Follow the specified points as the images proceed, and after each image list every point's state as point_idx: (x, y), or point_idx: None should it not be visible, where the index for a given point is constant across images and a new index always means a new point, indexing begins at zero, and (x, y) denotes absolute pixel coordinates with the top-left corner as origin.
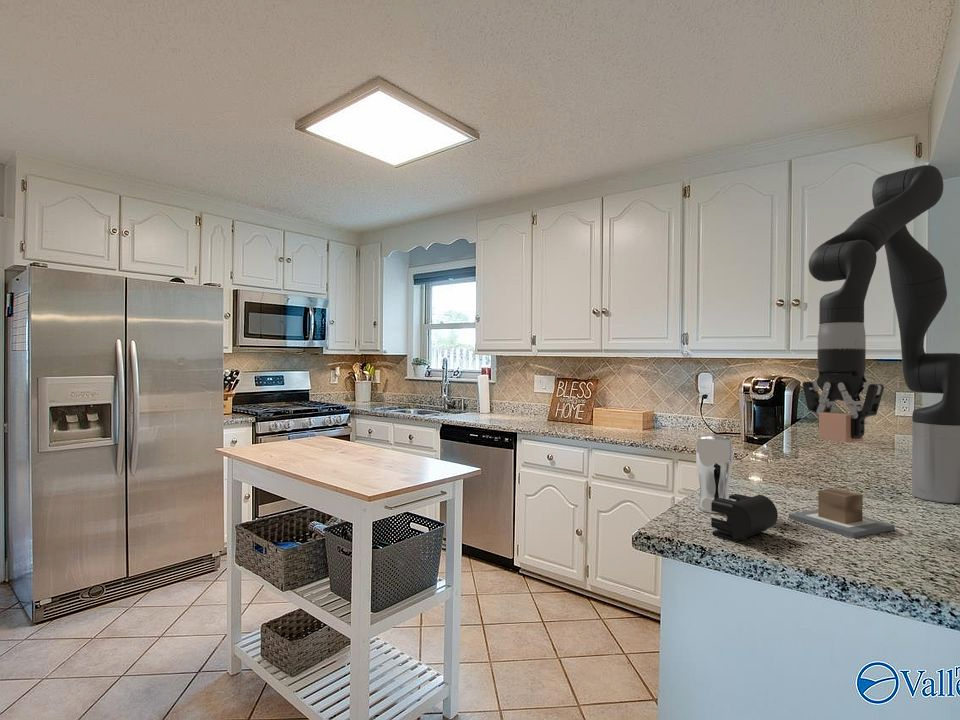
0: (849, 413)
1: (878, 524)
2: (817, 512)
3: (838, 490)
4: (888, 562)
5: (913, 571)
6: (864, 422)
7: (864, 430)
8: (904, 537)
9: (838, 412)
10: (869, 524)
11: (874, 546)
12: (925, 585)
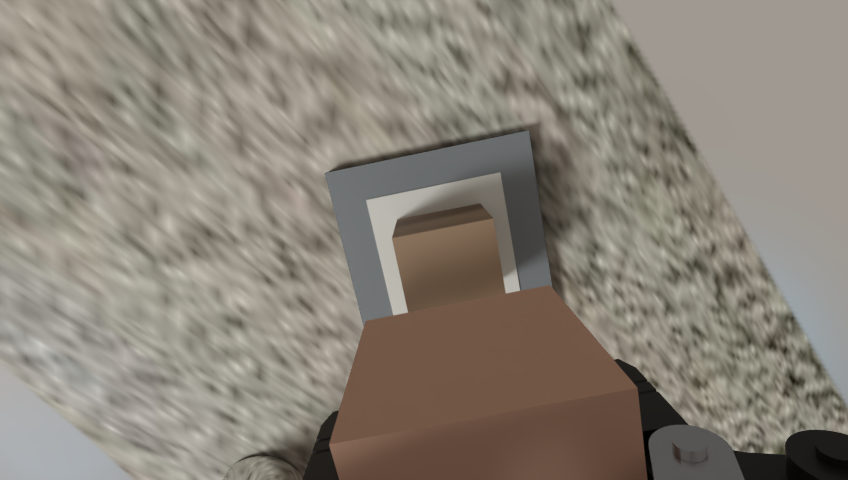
0: (511, 440)
1: (513, 178)
2: (370, 259)
3: (422, 255)
4: (702, 382)
5: (755, 377)
6: (681, 418)
7: (644, 377)
8: (584, 170)
9: (387, 461)
10: (508, 208)
11: (616, 319)
12: (808, 420)
